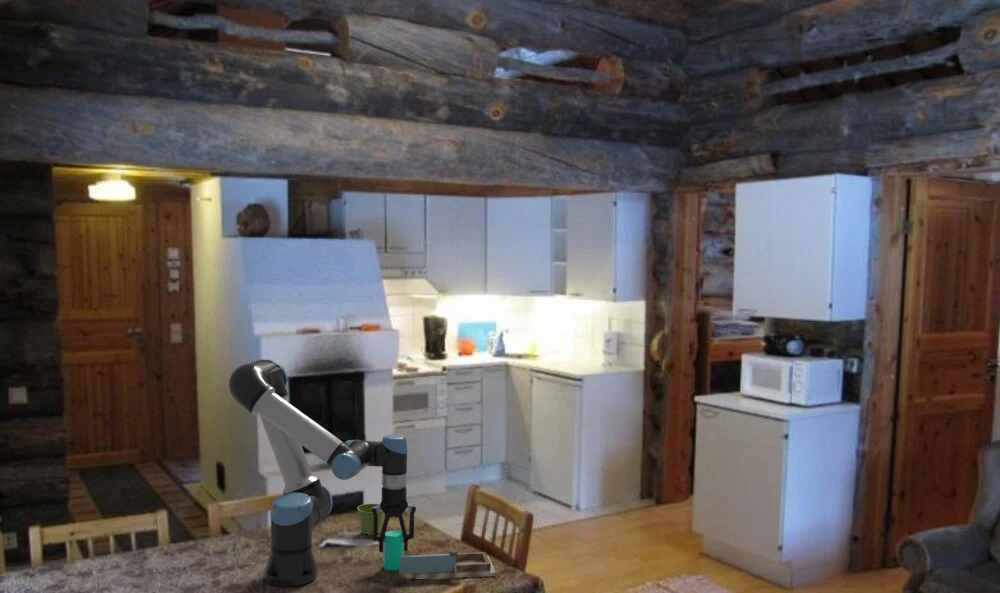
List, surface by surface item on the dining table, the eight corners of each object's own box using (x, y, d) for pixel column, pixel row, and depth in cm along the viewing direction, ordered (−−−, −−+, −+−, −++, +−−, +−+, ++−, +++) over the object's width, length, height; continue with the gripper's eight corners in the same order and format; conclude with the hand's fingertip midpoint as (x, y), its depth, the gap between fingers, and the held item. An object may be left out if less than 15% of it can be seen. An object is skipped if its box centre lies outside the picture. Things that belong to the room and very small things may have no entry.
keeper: (457, 572, 243) (458, 552, 242) (399, 574, 240) (399, 555, 239) (456, 569, 245) (457, 550, 245) (399, 571, 242) (399, 552, 242)
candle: (384, 571, 245) (385, 532, 245) (381, 564, 251) (382, 525, 251) (404, 569, 247) (404, 530, 246) (401, 562, 253) (401, 524, 252)
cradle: (415, 580, 239) (415, 570, 239) (412, 562, 253) (412, 552, 253) (495, 576, 244) (496, 566, 244) (488, 558, 257) (488, 549, 257)
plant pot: (385, 528, 284) (385, 503, 284) (383, 537, 275) (383, 512, 275) (358, 528, 284) (358, 503, 283) (355, 537, 274) (355, 512, 274)
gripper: (364, 490, 243) (363, 567, 244) (424, 488, 246) (423, 564, 247) (364, 483, 250) (363, 558, 251) (422, 482, 253) (421, 555, 254)
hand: (393, 561), depth 249 cm, fingers closed on candle, 5 cm apart
